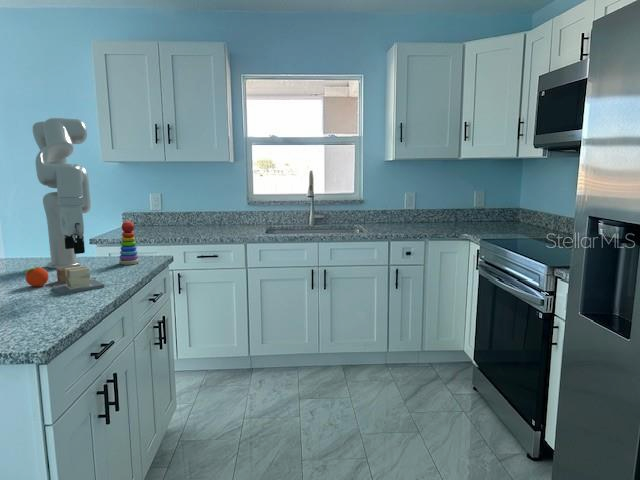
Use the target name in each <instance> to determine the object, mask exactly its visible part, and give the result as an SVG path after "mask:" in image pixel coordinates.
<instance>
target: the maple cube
mask: <svg viewBox="0 0 640 480" xmlns="http://www.w3.org/2000/svg"><path fill="white" fill-rule="evenodd" d="M65 275H66V283H65V284H66V285H67V286H69V287H70V288H77V287H83V286H89V285H90V280H91V278H90V275H91V274H90V268H89V267H87V266H85V265H79V266H75V267H71V268H65Z"/></svg>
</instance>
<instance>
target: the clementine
mask: <svg viewBox="0 0 640 480" xmlns="http://www.w3.org/2000/svg"><path fill="white" fill-rule="evenodd" d="M24 276H25V282H26V283H27V284H28V285H30V286H32V287H34V288H35V287H37V288H38V287H42V286H43V285H45V284H46V283H47V281H48V280H49V273H48V271H47V270H46V269H45V268H44V267H39V266H35V267H31V268H29V269H27V270H25V272H24V273H23V276H22V277H24Z"/></svg>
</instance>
